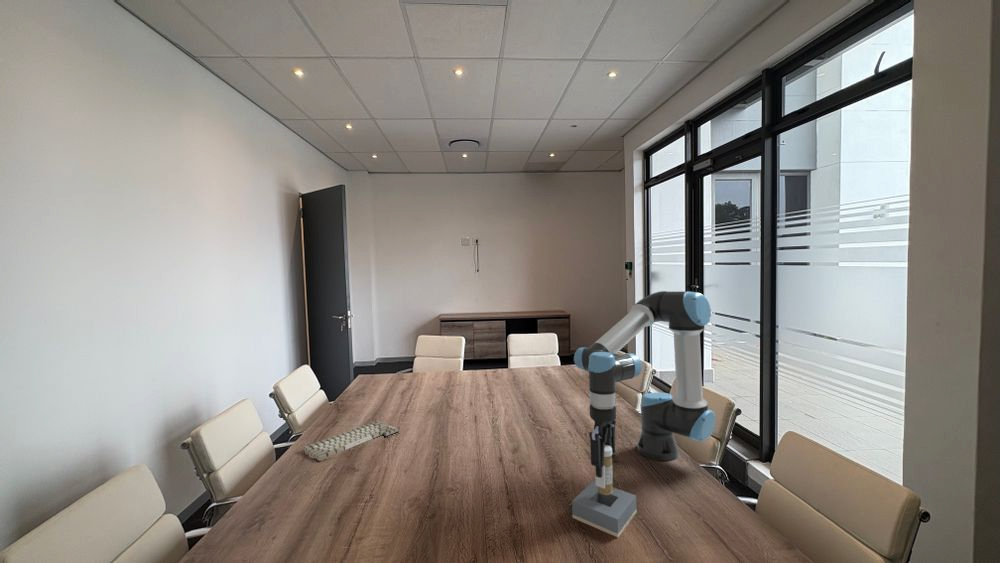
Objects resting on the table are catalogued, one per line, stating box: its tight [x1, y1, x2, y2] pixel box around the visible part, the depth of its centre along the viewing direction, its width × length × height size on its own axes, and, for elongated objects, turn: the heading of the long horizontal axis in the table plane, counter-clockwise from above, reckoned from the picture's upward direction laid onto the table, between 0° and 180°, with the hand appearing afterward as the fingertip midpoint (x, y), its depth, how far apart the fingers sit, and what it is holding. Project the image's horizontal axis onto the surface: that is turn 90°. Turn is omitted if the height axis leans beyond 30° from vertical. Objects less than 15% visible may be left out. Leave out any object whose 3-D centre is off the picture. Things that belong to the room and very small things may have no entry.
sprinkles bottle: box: [598, 445, 614, 495], centre depth 113 cm, size 5×5×13 cm
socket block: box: [571, 480, 637, 538], centre depth 113 cm, size 14×14×5 cm
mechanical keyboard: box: [303, 419, 399, 461], centre depth 169 cm, size 38×19×3 cm, turn 142°
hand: (604, 482), depth 113 cm, fingers closed on sprinkles bottle, 4 cm apart
